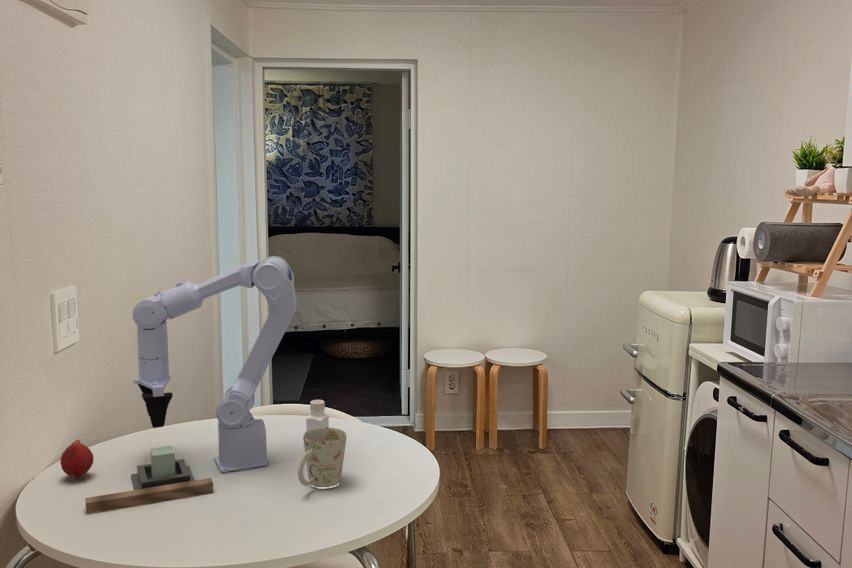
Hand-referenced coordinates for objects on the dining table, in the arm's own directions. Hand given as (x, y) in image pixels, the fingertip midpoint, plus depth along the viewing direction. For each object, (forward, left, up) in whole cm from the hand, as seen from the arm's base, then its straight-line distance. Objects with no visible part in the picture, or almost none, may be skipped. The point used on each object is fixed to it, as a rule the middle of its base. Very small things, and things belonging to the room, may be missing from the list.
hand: (156, 420), depth 153 cm
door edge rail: (+3, +17, -9) cm, 20 cm away
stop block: (0, +10, -9) cm, 13 cm away
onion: (+15, +1, -10) cm, 18 cm away
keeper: (0, +10, -9) cm, 14 cm away
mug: (-27, +24, -10) cm, 37 cm away
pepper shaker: (-34, +1, -10) cm, 35 cm away
